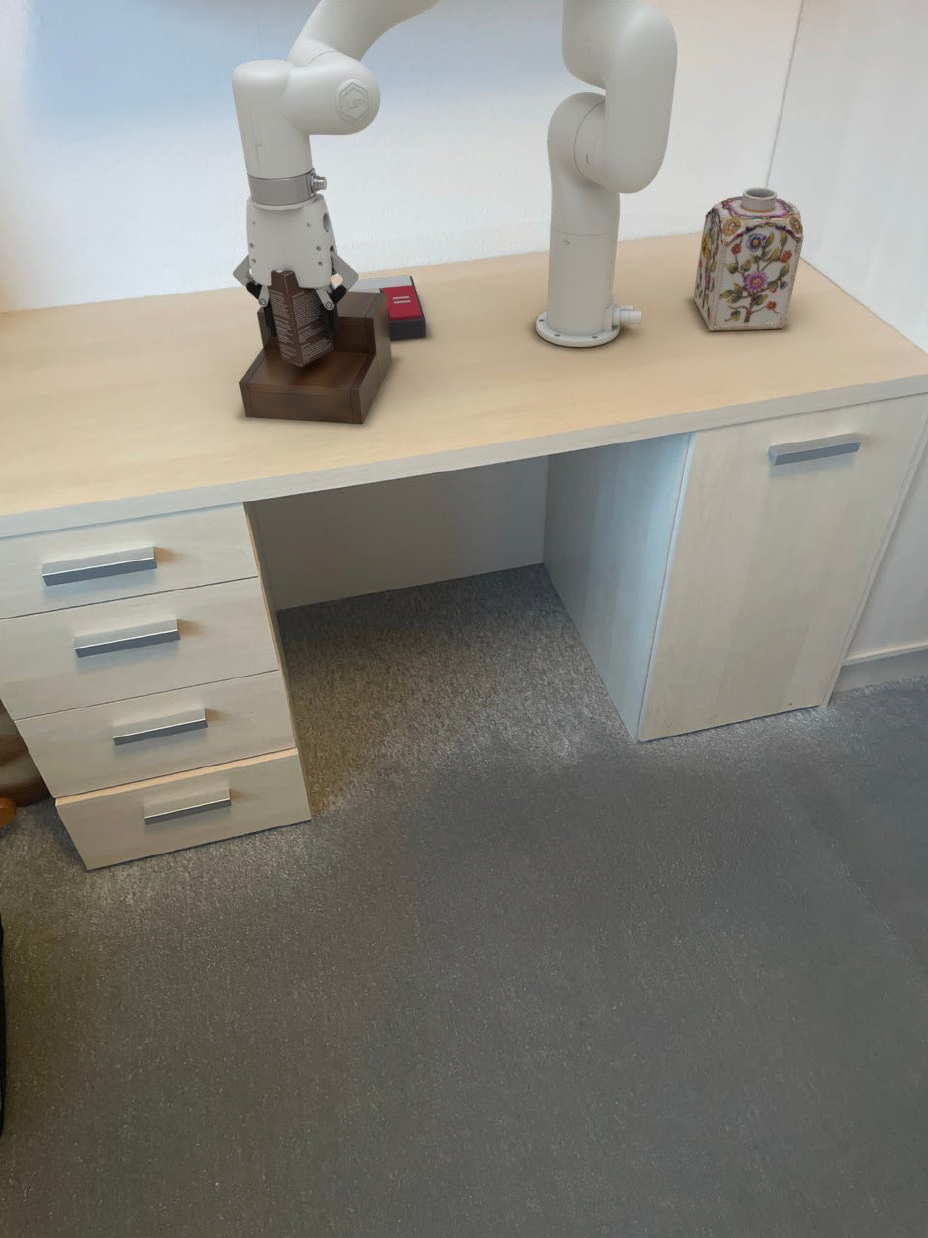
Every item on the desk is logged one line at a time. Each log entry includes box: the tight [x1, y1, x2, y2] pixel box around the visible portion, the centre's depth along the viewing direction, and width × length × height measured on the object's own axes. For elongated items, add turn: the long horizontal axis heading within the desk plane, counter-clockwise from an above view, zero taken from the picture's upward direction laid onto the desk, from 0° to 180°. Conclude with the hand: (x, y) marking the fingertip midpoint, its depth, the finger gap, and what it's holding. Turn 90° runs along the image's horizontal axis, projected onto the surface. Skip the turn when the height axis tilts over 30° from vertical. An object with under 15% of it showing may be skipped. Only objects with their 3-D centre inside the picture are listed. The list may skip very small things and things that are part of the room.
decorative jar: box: [693, 186, 805, 332], centre depth 134 cm, size 12×12×18 cm
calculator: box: [348, 274, 427, 342], centre depth 140 cm, size 11×4×15 cm
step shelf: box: [238, 292, 393, 425], centre depth 123 cm, size 16×18×10 cm
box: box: [267, 270, 334, 366], centre depth 115 cm, size 6×4×12 cm
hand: (303, 332), depth 117 cm, fingers closed on box, 6 cm apart
